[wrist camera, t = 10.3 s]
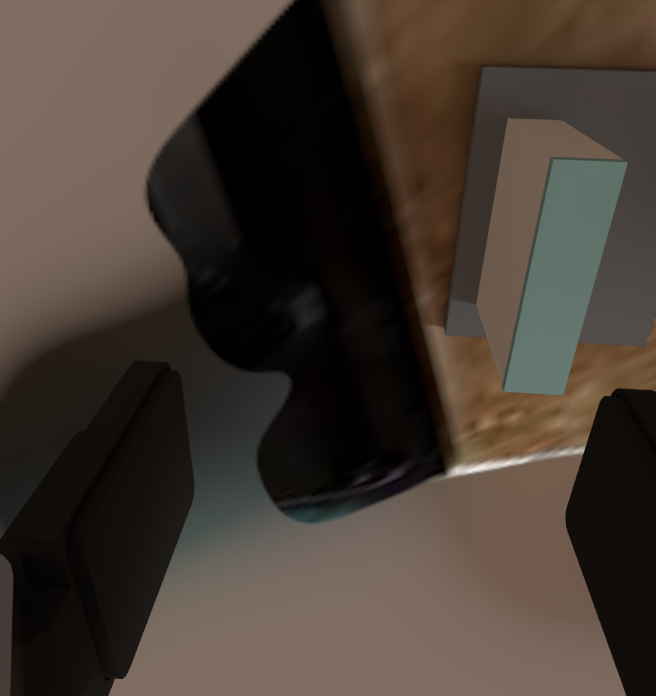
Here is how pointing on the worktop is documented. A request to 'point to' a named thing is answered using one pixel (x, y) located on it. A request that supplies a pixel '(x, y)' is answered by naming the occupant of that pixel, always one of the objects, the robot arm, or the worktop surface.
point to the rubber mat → (631, 208)
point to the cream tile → (544, 249)
